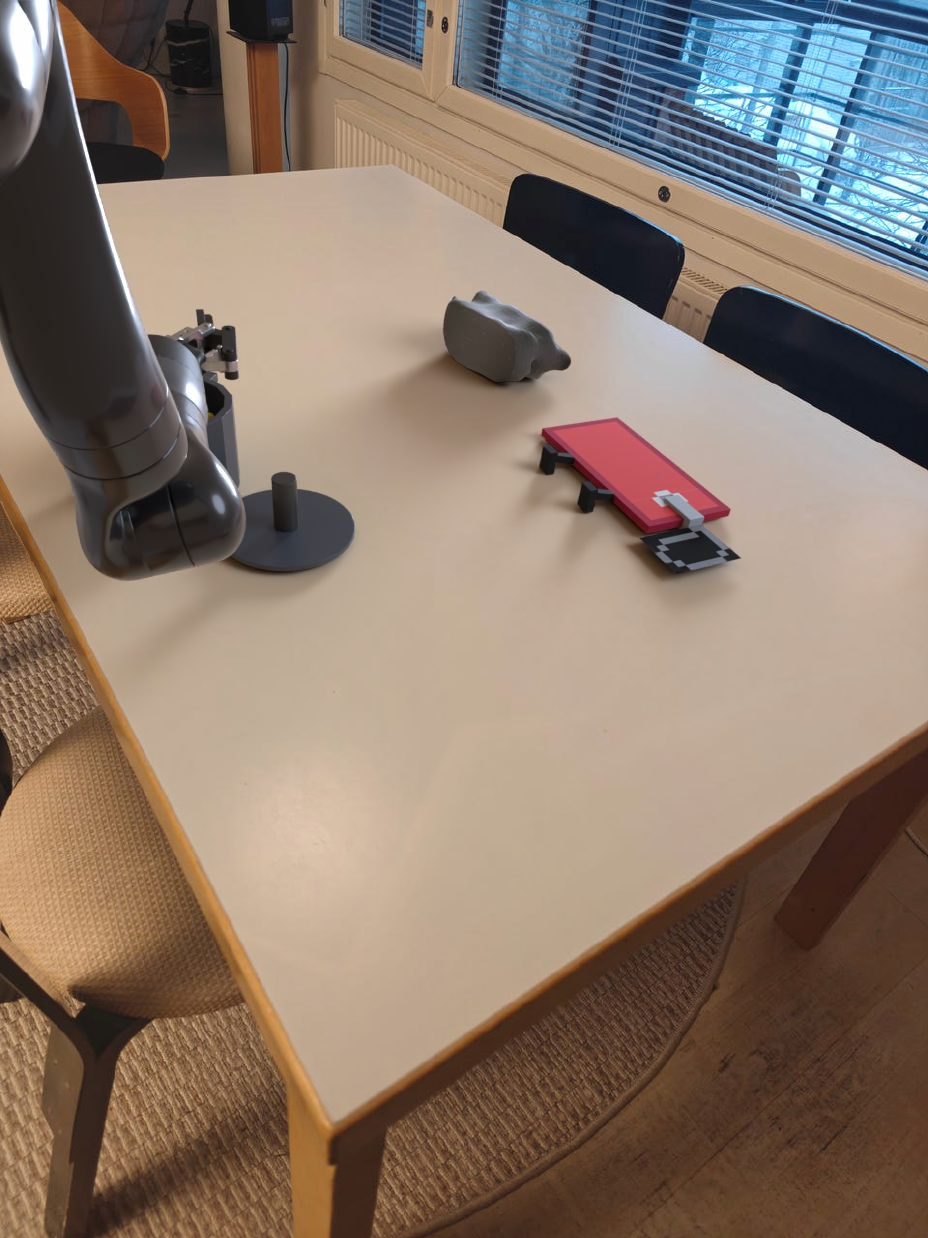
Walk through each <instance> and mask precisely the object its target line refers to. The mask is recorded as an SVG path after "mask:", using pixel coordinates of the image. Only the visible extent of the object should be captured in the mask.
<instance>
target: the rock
mask: <svg viewBox="0 0 928 1238" xmlns="http://www.w3.org/2000/svg"><path fill="white" fill-rule="evenodd" d="M471 299H472V300H471V301H467V300H464V299H458V297H457V296H453V297H452V298H451V300H450V301H449V302H448V303H447V305H446V308H445V312H444V316H443V323H442V324H443V325H442V334H443V339H444V344H445V347H446V349H447V351H448V353H449V354H450V356H451V357H452V359H453V360H454V361H456V362H457V363H458V364H459V365H461V366H463V367H464V368H466V369H469V370H471V371H473V372H476V373H478V374H480V375H483V376H484V377H486V378H488V379H490V380H491V381H493V382H495V383H501V382H507V381H508V382H509V381H510V382H512V381H514V382H519V381H521V380H523V379H524V378H528V379H533V380H538V379H539V380H540V378H542V376H543V375H544V374H546V373H549V372H550V371H558V372H559V371H560V372H562V371H565V370H568V368H569V367H570V366H571V364H572V358H571V356H570V354H569V353H568V352H567V351H566V350H565V349H563V348H562V347H561V346H560V345H558V344H557V343H556V342H555V335H554V334H553V332H552V331H551V330H550V329H549V328H548V327H547V326H545V325H544V324H543V323H542V322H540V320H538V319H536V318H534V317H531V316H529V315H527V314H526V312H523V311H522V310H521V309H520V308H518V307H517V306H515V305H511V304H507V303H504V302H502V301H500V300H498V299H497V298H496V297H494V296H493V295H491V294H490V293H488V292H487V291H485V290H479V291H477V292H476V293H475V294H474V296H473V298H471Z"/></svg>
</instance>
